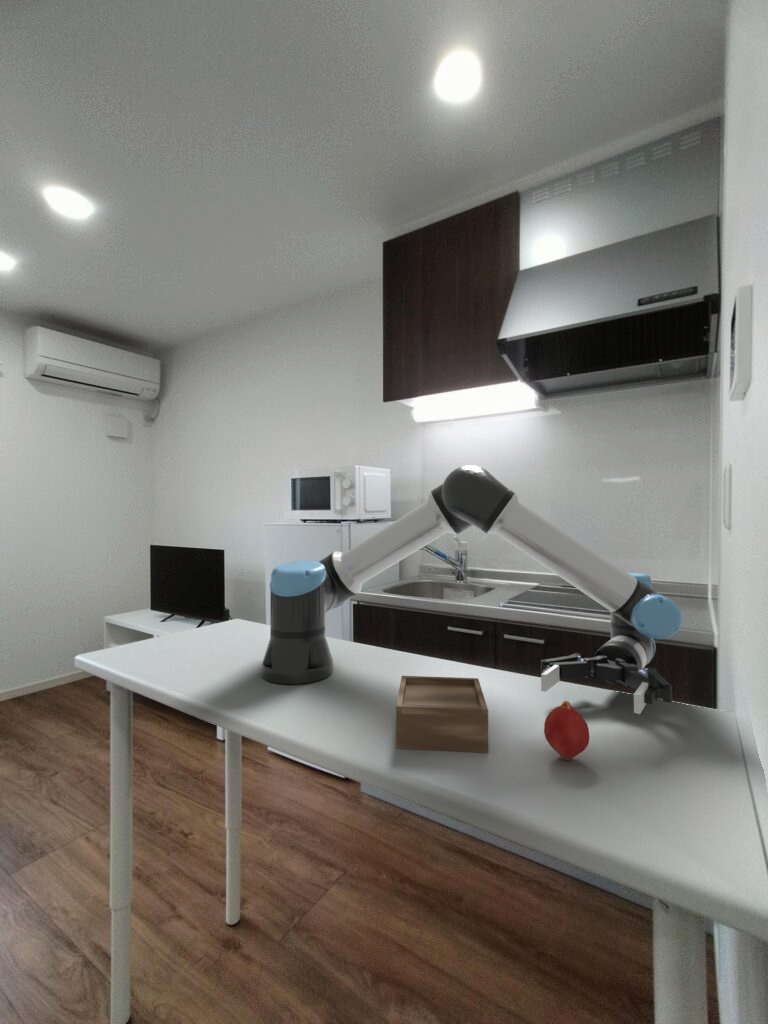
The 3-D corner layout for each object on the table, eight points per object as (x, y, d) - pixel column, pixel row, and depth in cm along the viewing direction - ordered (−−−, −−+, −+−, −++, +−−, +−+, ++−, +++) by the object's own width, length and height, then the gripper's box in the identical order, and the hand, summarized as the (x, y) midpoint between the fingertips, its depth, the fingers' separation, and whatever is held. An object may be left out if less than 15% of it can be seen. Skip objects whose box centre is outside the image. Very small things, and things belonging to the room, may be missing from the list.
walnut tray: (401, 710, 78) (401, 675, 78) (478, 713, 77) (478, 678, 77) (396, 748, 65) (396, 706, 65) (488, 752, 64) (488, 709, 64)
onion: (538, 747, 65) (538, 691, 66) (579, 748, 65) (578, 692, 65) (552, 769, 60) (552, 708, 60) (596, 770, 59) (596, 709, 60)
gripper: (699, 696, 78) (683, 742, 62) (554, 666, 94) (510, 697, 78) (699, 652, 79) (682, 687, 62) (553, 630, 95) (510, 653, 78)
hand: (587, 693), depth 70 cm, fingers open, 13 cm apart
